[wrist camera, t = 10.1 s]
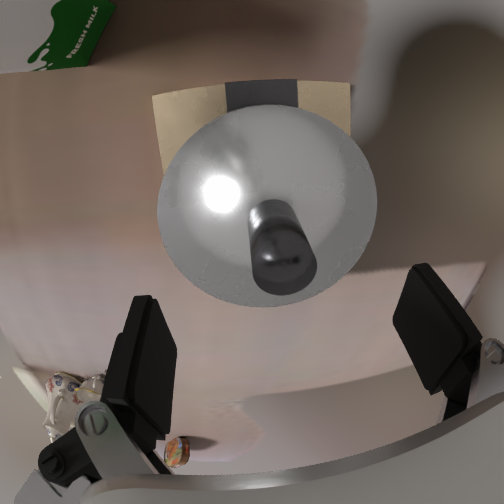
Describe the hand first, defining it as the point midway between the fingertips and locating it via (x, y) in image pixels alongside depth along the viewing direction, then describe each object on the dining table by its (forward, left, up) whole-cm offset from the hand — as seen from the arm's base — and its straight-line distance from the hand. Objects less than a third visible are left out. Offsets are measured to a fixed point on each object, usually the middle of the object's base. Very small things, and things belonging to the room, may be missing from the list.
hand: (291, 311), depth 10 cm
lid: (+1, 0, -9) cm, 9 cm away
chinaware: (+41, -41, -20) cm, 61 cm away
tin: (+71, -27, -20) cm, 78 cm away
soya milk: (-18, -17, -20) cm, 31 cm away
